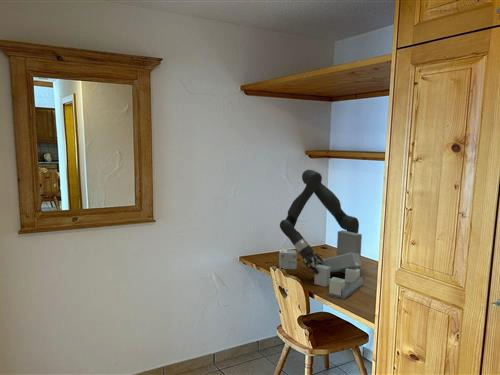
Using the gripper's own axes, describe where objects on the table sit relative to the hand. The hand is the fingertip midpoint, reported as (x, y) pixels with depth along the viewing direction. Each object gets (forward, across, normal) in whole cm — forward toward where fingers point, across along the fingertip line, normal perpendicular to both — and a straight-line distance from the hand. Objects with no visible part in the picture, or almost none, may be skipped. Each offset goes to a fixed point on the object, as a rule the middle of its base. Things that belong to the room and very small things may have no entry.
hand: (321, 271), depth 220 cm
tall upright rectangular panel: (+8, +28, +2) cm, 29 cm away
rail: (+15, 0, -6) cm, 16 cm away
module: (+5, 0, +4) cm, 7 cm away
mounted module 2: (+14, +11, -6) cm, 18 cm away
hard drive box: (-2, +15, +5) cm, 16 cm away
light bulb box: (-16, +13, +26) cm, 33 cm away
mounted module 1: (+14, -10, -6) cm, 18 cm away
